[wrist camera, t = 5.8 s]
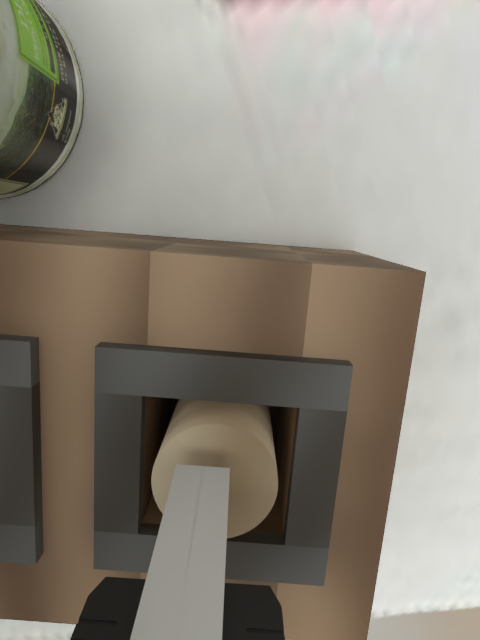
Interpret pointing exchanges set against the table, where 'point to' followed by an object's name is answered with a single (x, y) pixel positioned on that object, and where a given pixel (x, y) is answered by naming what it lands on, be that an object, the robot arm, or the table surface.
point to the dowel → (223, 456)
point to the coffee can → (35, 96)
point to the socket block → (206, 385)
